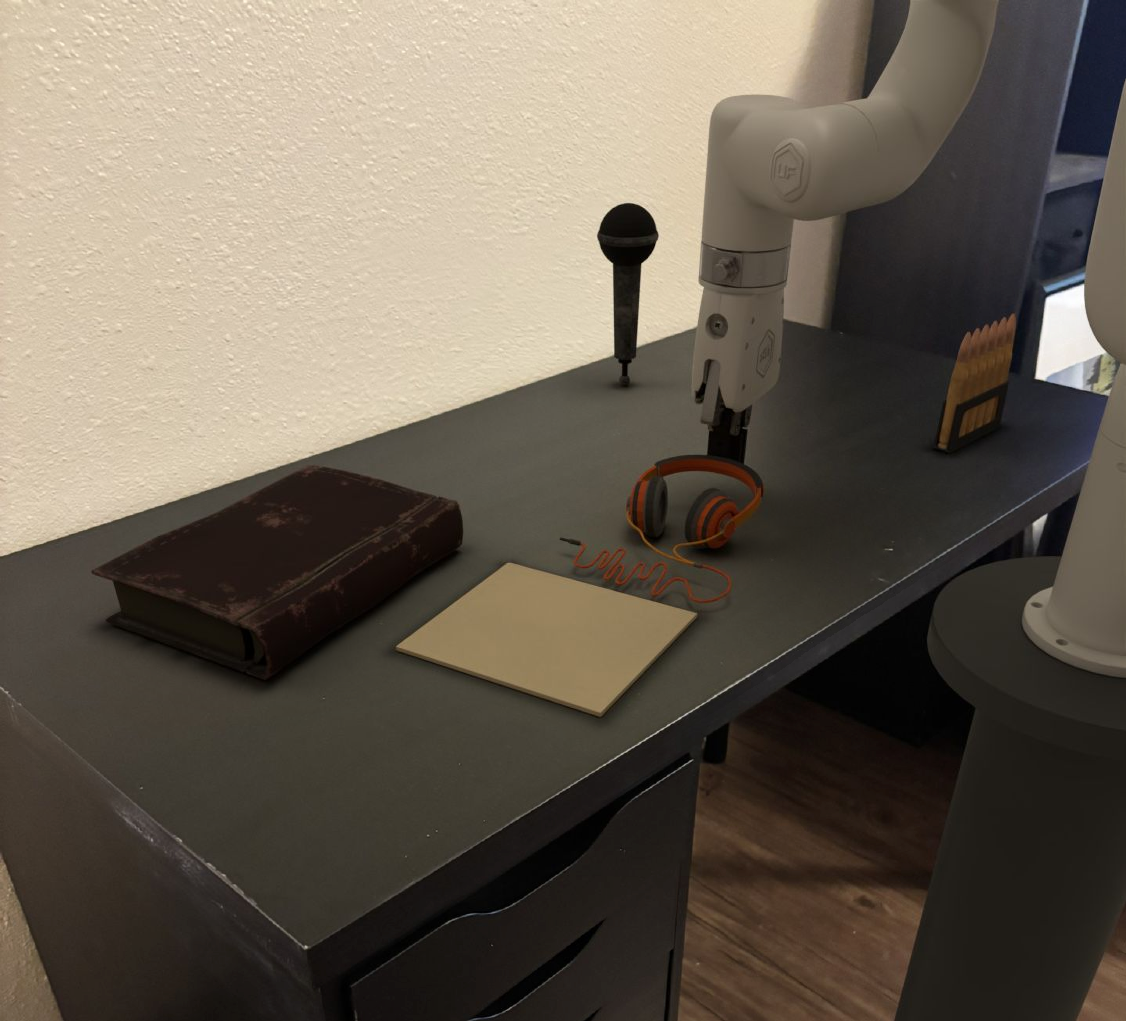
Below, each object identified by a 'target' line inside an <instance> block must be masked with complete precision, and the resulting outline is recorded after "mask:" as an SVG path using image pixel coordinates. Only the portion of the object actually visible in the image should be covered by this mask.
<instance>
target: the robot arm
mask: <svg viewBox="0 0 1126 1021" xmlns="http://www.w3.org/2000/svg"><path fill="white" fill-rule="evenodd" d="M999 1H1000V0H909V2H910V3H909V10H908V15H907V18H906V23H905V25H904V29H903V32H902V34H901V36H900V39H899V41H898V44H897V46H896V47H895V49H894V51H893V53H892V55H891V56H890V59H889V61H888V62H887V64H886V66H885V67H884V69H883V71H882V73H881V74H880V76H879V78H878V80H877V82H876V83H875V85H874V86H873V88H872V90H871V92H870V93H869V95H868V96H867V97H866V98H860V99H855V100H849V101H843V102H837V103H831V104H828V105H822V106H816V107H810V108H803V106H802V105H801V104H800V103H799V102H798V101H797V100H795V99H794V98H791V97H788V96H782V95H774V94H740V95H731V96H729V97H726V98H723V99H721V100H720V101H719V102H717V103H716V104H715V106H714V107H713V109H712V111H711V114H710V118H709V127H708V140H707V155H706V168H705V169H706V171H705V182H704V184H705V185H704V195H703V196H704V197H703V210H702V211H703V212H702V224H701V240H700V252H699V265H698V279H697V282H698V284H699V285H700V286H701V287H703V288H702V294H701V301H700V305H699V312H698V317H697V318H698V319H697V324H696V332H695V340H694V349H693V357H692V368H691V388H690V389H691V399H692V401H693V402H694V403H695V404H696V405H702V408H701V413H700V419H699V421H700V424H702V425H707V431H708V439H707V451H706V455H711V456H718V457H723V458H728V459H732V460H735V461H738V462H740V463H742V464H745V459H746V449H747V441H748V431H749V430H748V429H747V428H748V427H749V425H750V423H751V416H752V409H753V404H755V402H757V401H759V399H761V398H762V397H763V396H764V395H766V394H767V393H768V392H769V391H771V390H772V389H773V388H774V387H775V386H776V384H777V383H778V380H779V378H780V371H781V358H782V346H783V345H782V344H783V334H784V333H783V332H784V331H783V330H784V316H785V288H786V287H787V283H788V275H789V268H790V266H789V265H790V258H791V249H792V239H793V231H794V223H795V220H796V221H802V222H811V221H812V222H813V221H814V222H815V221H819V220H824V219H827V218H832V217H836V216H840V215H844V214H847V213H849V212H852V211H856V210H860V209H864V208H868V207H872V206H876V205H880V204H884V203H886V202H889V201H892V200H894V199H895V198H898V196H900V195H901V194H903V193H905V191H906V190H908V189H909V187H911V186H912V185H913V184H914V183H915V182H916V181H917V180H918V179H919V178H920V176H921V175H922V174H923V173H924V172H925V170H926V169H927V167H928V166H929V165H930V164H931V162H932V161H933V159H934V157H935V156H936V154H937V153H938V151H939V150H940V148H941V146H942V145H943V144H944V142H945V141H946V139H947V137H949V135H950V133H951V131H952V130H953V128H954V127H955V125H956V123H957V122H958V120H960V117H961V115H962V114H963V113H964V110H965V109H966V108H967V106H968V104H969V102H970V100H971V98H972V97H973V94H974V92H975V90H976V87H977V85H978V83H979V81H980V78H981V76H982V72H983V69H984V66H985V62H986V61H987V60H986V59H987V56H988V52H989V48H990V45H991V42H992V38H993V34H994V30H995V27H996V26H995V24H996V20H997V12H998V11H997V10H998V5H999V3H1000V2H999ZM1099 194H1100V195H1099V199H1098V203H1097V209H1096V213H1095V219H1094V224H1093V228H1092V231H1091V232H1092V233H1091V237H1090V242H1089V243H1090V244H1089V247H1088V251H1087V252H1088V253H1087V258H1086V264H1085V272H1084V281H1083V282H1084V285H1083V287H1084V288H1083V301H1084V308H1085V314H1086V319H1087V322H1088V325H1089V328H1090V330H1091V332H1092V334H1093V337H1094V338H1095V340H1096V341H1097V343H1098V344H1099V346H1100V347H1101V348H1102V349H1103V350H1104V352H1106V353H1107V354H1108V355H1109V356H1110V357H1112V358H1113V359H1114V360H1116V361H1117V362H1118V363H1120V364H1119V367H1118V370H1117V372H1116V373H1115V377H1114V380H1113V382H1112V385H1111V388H1110V392H1109V394H1108V398H1107V401H1106V404H1105V407H1104V411H1103V414H1102V418H1101V421H1100V424H1099V427H1098V431H1097V434H1096V437H1095V440H1094V444H1093V447H1092V452H1091V455H1090V457H1089V462H1088V465H1087V468H1086V472H1085V475H1084V479H1083V482H1082V485H1081V489H1080V492H1079V496H1078V500H1077V503H1076V507H1075V509H1074V514H1073V516H1072V520H1071V524H1070V527H1069V531H1068V534H1067V536H1066V541H1065V545H1064V548H1063V551H1062V555H1061V557H1062V558H1061V561H1060V565H1059V568H1058V572H1057V575H1056V579H1055V582H1054V585H1053V587H1051V588H1048V589H1045V590H1042V591H1040V592H1038V593H1037V594H1035V595H1033V596H1032V597H1031V598H1030V599H1029V600H1028V601H1027V603H1026V606H1025V608H1024V612H1023V616H1022V625H1023V629H1024V631H1025V632H1026V634H1027V636H1028V637H1029V638H1030V639H1031V640H1032V641H1033V642H1034V643H1035V644H1036V645H1037V646H1038V647H1039V648H1040V649H1042V650H1043V651H1045V652H1046V653H1047V654H1049V655H1051V656H1052V657H1054V658H1056V659H1058V660H1060V661H1062V662H1064V663H1067V664H1069V665H1071V666H1074V667H1076V668H1079V669H1083V670H1086V671H1089V672H1092V673H1096V674H1101V675H1106V676H1111V677H1118V678H1126V79H1125V81H1124V84H1123V87H1122V92H1121V96H1120V101H1119V106H1118V109H1117V114H1116V118H1115V123H1114V127H1113V132H1112V137H1111V143H1110V147H1109V151H1108V157H1107V161H1106V166H1105V171H1104V176H1103V181H1102V185H1101V190H1100V193H1099Z"/></svg>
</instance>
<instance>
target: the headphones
mask: <svg viewBox="0 0 1126 1021" xmlns="http://www.w3.org/2000/svg"><path fill="white" fill-rule="evenodd" d="M686 472H687V473H688V472H704V473H705V472H706V473H711V474H713V473H714V474H718V475H723V476H727V477H729V478H733V479H735V480H737V481H739V482H741V483H743V484H745V485H746V486H747V487H748V488H749V489H750V490H751V492H752V494H753V495H754V498H753V499H752V501H750V502H749V504H748V505H747V506H746V507H744V508H743V509H742V510H741V511H739V510H738V506H737V505H736V504H735V502H734V501H733V500H732V499H730V497H729V495H728V493H726V491H724V490H721V489H720V488H716V487H711V488H707V489H704V491H702V492H701V493H700V494H699V495H698V496H697V497H696V498H695V499H694V501H692V503H691V506H690V507H689V509H688V511H687V514H686V517H685V522H684V537H685V539H686V542H684V543H678V544H676V545H675V546H674V547H673V549H672V553H673V554H674V556H672V555H669V554H667V553H665V552H663V551H661V550H660V549H658V548H657V547H655V546H653V545H652V544H651V543H650V542H648V540H647V538H645V536H644V533H645V534H646V535H647V536H648V537H651V538H658V537H659V536H661V534H662V533H663V531H664V529H665V526H666V520H667V515H668V505H669V504H668V503H669V498H668V497H669V495H668V494H669V493H668V485H667V482H666V480H665V478H664V477H667V476H670V475H671V476H672V475H674V474H679V473H686ZM764 493H765V486H764V482H763V480H762V478H761V476H760V475H759V474H758V473H757V471H756V470H754V469H753V468H751V467H750V466H748V465H747V464H745V463H744V464H742V463H740V462H738V461H735V460H732V459H728V458H723V457H718V456H711V455H707V454H683V455H676V456H672V457H667V458H664V459H661V460H657V461H656V462H655V463H654V465H653V466H651V467H650V468H648V469H647V470H645V471H644V472H643V473H642V474H641V475H640V477H639V478H638V479H637V480H636V483H635V484H634V486H633V488H632V490H631V493H630V496H627V498H626V502H625V512H626V520H627V522H628V524H629V525H630V526H631V527H632V528H633V529H634V530H636V531H637V532H638V533H639V534H640V537H641V539H642V541H643V542H644V544H645V545H647V547H649V548H650V549H651V550H653V551H654V552H655V553H657V554H659V555H661V556H663V557H665V558H667V559H670V560H672V561H675V562H678V563H682V564H685V565H689V566H693V567H694V568H698V569H707V570H710V571H713V572H715V573H718V574H720V575H722V576H723V577H724V578H725V579H726V580H727V582H728V588H727V590H725V591H724V593H722V594H720V595H719V596H716V597H714V598H713V597H712V598H710V599H698V598H695V597H693V594H692V591H691V587H690V584H689V582H688V580H686V579H685V578H683V577H678V576H677V577H676V576H675V577H673V578H671V579H670V580H668V581H667V582H666V583H665V584H663V586H662V587H661V588H660V589H659V590H658V591H656V589H657V588H658V586H659V585H660V584H661V581H662V580H663V578H664V577H665V575H666V573H667V571H668V565H667V563H665V562H657V563H655V564H654V565H653V566H652V567H651V568H650V570H649V571H648V573H646V576H642V574H643V572H644V570H645V568H646V564H645V563H644V562H639V563H637V564H636V565H635V566H634V568H633V569H631V572H630V573H629V574H628V575H627V577H625V579H624V580H622V581H619V580H620V579H621V577H622V575H624V572H625V570H626V566H625V565H624V564H619V563H620V562H621V561H622V560H623V558H624V557H625V555H626V553H627V550H626V549H625V548H623V547H620V548H617V549H616V550H615V551H614V552H613V553H612V554H611V556H610V551H609V550H607V549H604V550H602V551H601V552H600V553H599V554H598V555H597V556H596V558H595V559H594V560H593V561H591V563H589V564H587V565H582V564H579V563H577V562H578V559H579V558H580V557H581V556H582V554H583V553H584V552H585V551H586V544H584V543H583V542H581V540H577V539H573V538H565V537H562V536H561V537H559V541H561V542H567V543H568V544H570V545H574V546H578V547H580V546H581V547H582V549H581V550H580V551H579V552H578V553H577V555H576V556H575V559H574V560H573V565H574V566H575V567H576V568H579V569H588V568H591V567H592V566H594V565H595V564H596V563H597V562H598V561H599V560H600V558H602V556H603V555H604V554H605V556H604V558H603V559H602V560H601V561H600V562H599V564H597V565H598V566H597V569H598V570H604V569H605V568H606V567H607V566H608V565H609V564H610V563H611V562H612V561H613V560H614V558H615V557H616V556H617V555H618V553H619V552H622V553H621V555H620V556H619V558H617V560H616V561H615V562H614V563H613V564H612V565H611V566H610V567H609V568H608V570H607V571H606V572H605V573H604V575H603V580H604V581H609V580H611V579H612V577H613V576H614V575H615V574H616V572H617V571H618V570H619V569H620V568H621V570H620V572H619V574H618V575H617V576H616V578H615V580H614V584H616V585H618V586H623V585H625V584H626V583H628V581H629V580H630V579H631V577H632V576H633V575H634V574H635V572H636V571H637V569H638V568H639V567H641V566H642V567H641V568H640V570H639V572H638V579H639V580H641V581H646V580H647V579H648V578H650V576H651V574H653V572H654V570H655V569H656V568H657V567H659V566H663V567H664V570H663V572H662V573H661V575H660V577H659V578H658V579H657V581H656V583H655V584H654V586H653V588H652V589H651V592H650V595H651V596H652V597H657V596H659V595H660V594H661V593H662V592H663V591H664V590H665V589H667V587H668V586H669V585H671V583H673V582H675V581H681V582H683V583H684V584H685V585H686V589H687V593H688V596H689V598H690V599H691V601H693V602H694V603H699V604H700V603H701V604H705V603H713V602H716V601H719V600H721V599H723V598H725V596H727V595H728V594H729V593H730V592H731V589H732V580H731V578H730V577H729V575H728V574H727V573H725V572H724V571H722V570H720V569H717V568H715V567H713V566H710V565H705V564H704V563H702V562H699V561H692V560H689V559H686V558H684V557H682V556H681V555H679V554H678V553H677V550H678V548H680V547H687V546H692V547H695V548H696V549H701V550H703V549H706V548H710V549H718V548H720V547H722V546H724V545H725V544H726V543H727V542H728V541H729V540H730V539H731V537H732V536H733V535H734V532H735V530H736V529H737V528H739V527H740V526H741V525H743V524H744V523H745V522H747V521H748V519H750V518H751V517H752V516H753V515H754V514H755V513H756V512H757V510H758V509H759V507H760V505H761V502H762V498H764ZM609 556H610V557H609ZM608 557H609V559H608ZM607 559H608V560H607ZM655 591H656V592H655Z"/></svg>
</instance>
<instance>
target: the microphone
mask: <svg viewBox="0 0 1126 1021" xmlns="http://www.w3.org/2000/svg"><path fill="white" fill-rule="evenodd" d="M596 238H597V241H598V244H599V248H600V250H601V252H602V254H603V256H604V257H605V258H606V259H607V260H608V261H609V263H611V264H612V289H613V290H612V295H613V298H612V300H613V303H612V304H613V356H614V357H613V358H614V359H617V360H618V361H617V362H618V363H619V364H621V375H620V376H619V378H618V382H619V384H620V386H622V387H626V386H628V385H629V384H630V382H631V378H630V376H629V375H628V374H629V364H632V363H633V359H634V360H635V358H637V350H638V348H637V347H638V331H639V330H638V327H639V313H640V299H641V298H640V296H641V280H642V264H643V263H644V262H646V261H647V260H648V258H650V257H651V255H652V254H653V252H654V250H655V247H656V244H657V241H659V231H658V229H657V224H656V221H655V219H654V217H653V216H652V214H651V213H650V212H649V211H648V210H647V209H646V208H645V207H643V206H641V205H640V204H637V203H633V202H624V203H620V204H618V205H616V206H613V207H612V208H611V209H610V210H609V211H607V212H606V214H605V215H604V217H603V218H602V220H601V221H600V225H599V229H598V231H597V234H596Z"/></svg>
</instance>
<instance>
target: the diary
mask: <svg viewBox="0 0 1126 1021" xmlns="http://www.w3.org/2000/svg"><path fill="white" fill-rule="evenodd" d="M463 538H464V522H463V516H462V511H461V506H460V504H459V502H458V501H457V500H456V499H450V498H446V497H443V496H438V497H437V496H436V495H435V494H432V493H426V492H423V491H420V490H415V489H413V488H409V487H407V486H406V487H405V486H402V485H399V484H397V483H393V482H390V481H386V480H383V479H380V478H376V477H373V476H368V475H364V474H360V473H356V472H352V471H348V470H344V469H338V468H333V467H328V466H323V465H316V464H307V465H305V466H303V467H302V468H300V469H299V468H298V469H297V470H296V471H293V472H292V473H290V474H288V475H286V476H284V477H282V478H280V479H278V480H276V481H274V482H272V483H270V484H268V485H267V486H264V487H262V488H261V489H259V490H257V491H254V492H253V493H251V494H249V495H247V496H245V497H243V498H241V499H239V500H238V501H235V502H234V503H233V502H232V504H229V505H228V506H225V507H224V508H221V509H220V510H218V511H216V512H213V513H212V514H210V515H207V516H204V517H202V518H200V519H197V520H194V521H192V522H190V523H187V524H185V525H183V526H182V525H181V526H180V527H178V528H176V529H173V530H169V531H167V532H165V533H162V534H159V535H157V536H156V537H154V538H152V539H150V540H147V541H145V542H143V543H142V544H140V545H138V546H136V547H134V548H132V549H131V550H128V551H127V552H125V553H122V554H121V555H119V556H117V557H115V558H113V559H111V560H109V561H107V562H106V563H103V564H101V565H99V566H97V567H95V568H94V569H92V570H91V574H92V575H95V576H97V577H100V578H103V579H106V580H109V581H112V584H113V587H114V590H115V594H116V597H117V598H116V599H117V602H118V604H119V608H120V611H118V612H116V613H114V614H112V615H111V616H109V617H107V618H106V619H105V622H106V623H108V624H109V625H110V624H111V625H113V626H116V627H119V628H122V629H124V630H127V631H130V632H132V633H135V634H138V635H140V636H143V637H146V638H150V639H152V640H155V641H157V642H160V643H163V644H164V645H169V646H170V647H173V648H175V649H179V650H181V651H185V652H187V653H190V654H192V655H196V656H198V657H201V658H203V659H206V660H209V661H212V662H214V663H217V664H220V665H223V666H225V667H228V668H231V669H233V670H237V671H239V672H241V673H245V672H246V674H248V675H250V676H253V677H255V678H258V679H261V680H264V681H266V680H269V679H270V678H271V677H272V676H274V675H275V674H277V673H278V672H279V671H281V670H282V669H283V668H285V667H286V666H288V665H289V664H290V663H292V662H293V661H294V660H296V659H297V658H298V657H300V656H301V655H303V654H304V653H306V652H307V651H308V650H309V649H311V648H312V647H313V646H315V645H316V644H318V643H319V642H321V640H324V639H325V638H326V637H327V636H329V635H330V634H332V633H333V632H335V631H337V630H339V629H340V628H342V627H343V626H345V625H347V623H349V622H351V621H353V620H354V619H356V618H357V617H359V616H360V615H362V614H363V613H365V612H367V611H368V610H370V609H371V608H374V607H375V606H376V605H377V604H378V603H380V602H382V601H383V600H384V599H386V597H388V596H389V595H390V594H392V593H393V592H394V591H396V590H397V589H399V588H400V587H401V586H403V585H404V584H405V583H407V582H408V581H409V580H411V579H412V578H413V577H415V576H416V575H418V574H419V573H421V572H422V571H424V570H426V569H427V568H429V567H430V566H432V565H433V564H435V563H438V561H440V560H442V559H443V558H445V557H447V556H448V555H450V554H452V553H453V552H455V551H457V549H460V547H461V546H462V545H463V542H464V541H463Z"/></svg>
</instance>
